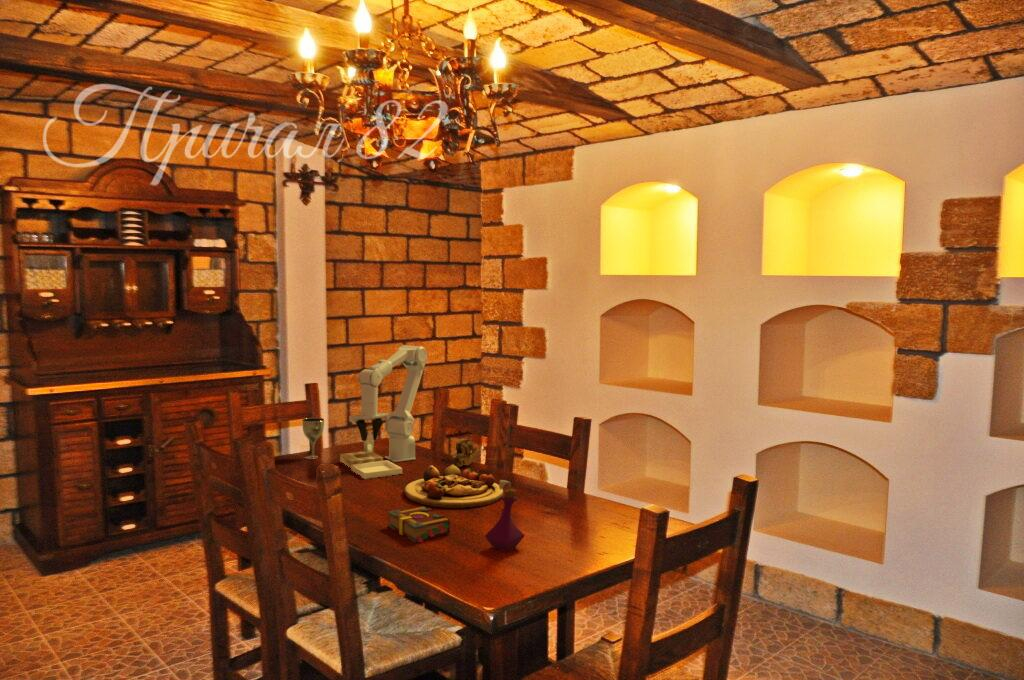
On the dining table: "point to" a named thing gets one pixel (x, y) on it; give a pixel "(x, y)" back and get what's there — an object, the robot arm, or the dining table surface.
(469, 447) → the wooden carving
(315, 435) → the wine glass
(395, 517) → the decorative book
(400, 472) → the tray
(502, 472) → the dining table surface
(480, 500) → the wooden plate with food
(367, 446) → the peg
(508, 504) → the perfume bottle
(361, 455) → the hitch block
